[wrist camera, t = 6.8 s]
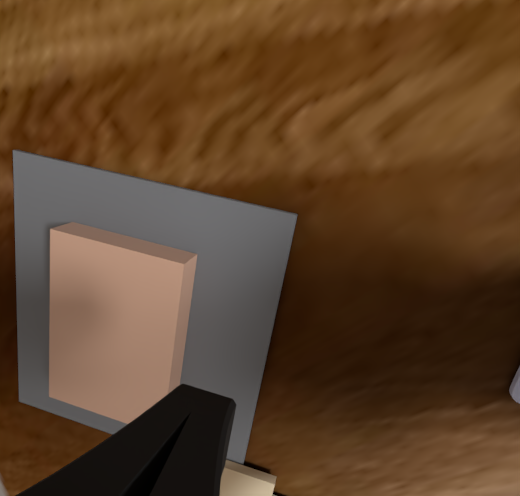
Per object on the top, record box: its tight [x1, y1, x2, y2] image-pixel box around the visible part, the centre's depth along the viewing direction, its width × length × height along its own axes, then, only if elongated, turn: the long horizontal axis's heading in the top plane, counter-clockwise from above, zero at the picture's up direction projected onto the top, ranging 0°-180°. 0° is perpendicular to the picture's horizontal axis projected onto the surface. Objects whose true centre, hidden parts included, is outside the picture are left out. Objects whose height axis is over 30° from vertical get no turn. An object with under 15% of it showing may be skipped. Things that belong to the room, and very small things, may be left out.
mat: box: [13, 150, 298, 465], centre depth 21 cm, size 15×16×1 cm
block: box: [49, 222, 198, 424], centre depth 20 cm, size 2×10×7 cm
